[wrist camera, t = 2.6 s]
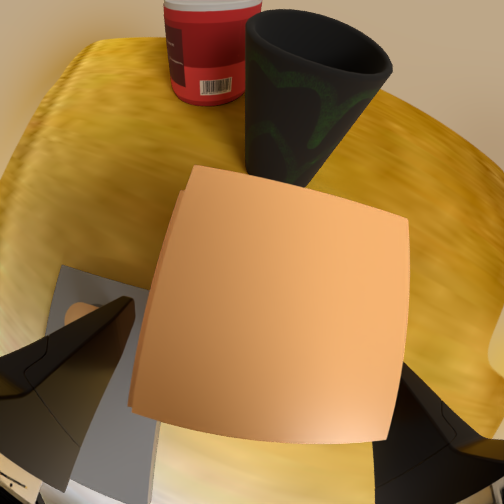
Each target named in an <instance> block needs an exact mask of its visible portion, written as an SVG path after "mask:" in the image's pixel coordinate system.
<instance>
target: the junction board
mask: <svg viewBox="0 0 504 504" xmlns="http://www.w3.org/2000/svg"><path fill="white" fill-rule="evenodd" d="M149 292H150V290H146V289H142V288H139V287H135V286H131V285H128V284H124V283H121V282H117V281H114V280H110V279H107V278H103V277H100V276H97V275H93V274H90V273H87V272H84V271H81V270H77V269H74V268H71V267H68V266H65V265H62V266H61V269H60V273H59V276H58V280H57V283H56V287H55V291H54V295H53V299H52V303H51V308H50V313H49V317H48V322H47V328H46V333H45V336H47V335H48V336H49V334H51V333H52V332H54V331H56V330H58V329H60V328H62V327H64V326H65V325H67V324H69V323H71V322H73V321H75V320H77V319H79V318H80V317H82V316H84V315H86V314H88V313H90V312H92V311H94V310H96V309H98V308H100V307H101V306H103V305H105V304H107V303H109V302H111V301H113V300H115V299H117V298H119V297H121V296H128V297H132V298H133V299H134V301H135V314H136V317H135V322H134V324H133V327H132V330H131V332H130V335H129V338H128V341H127V343H126V346H125V349H124V352H123V354H122V357H121V359H120V361H119V363H118V365H117V367H116V369H115V371H114V373H113V375H112V377H111V380H110V382H109V384H108V386H107V388H106V390H105V392H104V395H103V397H102V399H101V401H100V403H99V406H98V408H97V410H96V412H95V415H94V417H93V419H92V422H91V424H90V426H89V429H88V431H87V434H86V436H85V439H84V441H83V444H82V446H81V448H80V452H79V454H78V457H77V459H76V462H75V465H74V468H73V470H72V473H71V476H70V479H72V480H73V481H75V482H77V483H79V484H81V485H83V486H85V487H88V488H90V489H92V490H94V491H96V492H98V493H101V494H103V495H105V496H108V497H110V498H113V499H115V500H118V501H121V502H123V503H126V504H150V502H151V498H152V487H153V477H154V468H155V460H156V452H157V444H158V437H159V430H160V423H161V422H160V421H157V420H153V419H150V418H147V417H144V416H141V415H138V414H135V413H132V408H131V407H128V406H127V404H128V397H129V390H130V384H131V378H132V372H133V366H134V360H135V355H136V350H137V345H138V340H139V335H140V330H141V326H142V321H143V317H144V312H145V308H146V304H147V300H148V296H149Z"/></svg>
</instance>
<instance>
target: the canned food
mask: <svg viewBox="0 0 504 504" xmlns="http://www.w3.org/2000/svg"><path fill="white" fill-rule="evenodd" d="M261 6H262V0H164V20H165V32H166V42H167V51H168V60H169V68H170V76H171V84H172V88H173V90H174V92H175V94H176V95H177V97H178V98H179V99H181V100H182V101H184V102H186V103H188V104H192V105H197V106H215V105H221V104H225V103H228V102H231V101H233V100H235V99H237V98H239V97H240V96H241V95H242V94H243V93H244V92H245V24H246V22H247V20H248V19H249V18H250V17H252V16H254V15H255V14H257V13H260V12H261Z"/></svg>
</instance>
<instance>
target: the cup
mask: <svg viewBox="0 0 504 504" xmlns="http://www.w3.org/2000/svg"><path fill="white" fill-rule="evenodd" d="M392 72H393V68H392V63H391V61H390V59H389V57H388V55H387V54H386V52H385V51H384V50H383V49H382V48H381V47H380V46H379V45H378V44H377V43H376V42H375V41H373V40H372V39H371V38H369V37H368V36H366V35H365V34H363V33H362V32H360V31H358V30H357V29H355V28H353V27H351V26H349V25H347V24H345V23H343V22H340V21H338V20H335V19H333V18H329V17H327V16H323V15H320V14H316V13H311V12H307V11H300V10H292V9H276V10H267V11H263V12H260V13H257V14H255V15H254V16H252V17H250V18H249V19H248V20H247V22H246V24H245V163H246V169H247V172H248V174H249V175H251V176H256V177H261V178H265V179H270V180H274V181H278V182H282V183H287V184H291V185H295V186H299V187H303V188H304V187H306V186H307V185H308V183H309V182H310V181H311V179H312V178H313V177H314V175H315V174H316V173H317V172H318V170H319V169H320V168H321V166H322V165H323V164H324V162H325V161H326V160H327V158H328V157H329V156H330V154H331V153H332V152H333V150H334V149H335V148H336V146H337V145H338V144H339V143H340V141H341V140H342V139H343V137H344V136H345V135H346V133H347V132H348V131H349V129H350V128H351V127H352V125H353V124H354V123H355V121H356V120H357V119H358V117H359V116H360V115H361V113H362V112H363V111H364V109H365V108H366V107H367V105H368V104H369V103H370V101H371V100H372V99H373V98H374V96H375V95H376V94H377V92H378V91H379V90H380V88H381V87H382V86H383V84H384V83H385V81H386V80H387V79H388V78H389V76H390V75H391V74H392Z"/></svg>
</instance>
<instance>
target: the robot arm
mask: <svg viewBox="0 0 504 504" xmlns="http://www.w3.org/2000/svg"><path fill="white" fill-rule="evenodd" d="M135 317H136V314H135V301H134V299H133V298H132V297H128V296H121V297H119V298H117V299H115V300H113V301H111V302H109V303H107V304H105V305H103V306H101V307H100V308H98V309H96V310H94V311H92V312H90V313H88V314H86V315H84V316H82V317H80V318H79V319H77V320H75V321H73V322H71V323H69V324H67V325H65V326H64V327H62V328H60V329H58V330H56V331H54V332H52V333H51V334H49V336H48V335H47V336H45V337H43V338H41V339H39V340H37V341H35V342H33V343H32V344H30V345H27V346H25V347H23V348H21V349H19V350H16V351H14V352H12V353H9V354H7V355H4V356H2V357H0V504H45V503H44V501H43V499H42V497H41V494H40V492H39V490H40V488H41V485H42V482H45V483H47V484H48V485H50V486H52V487H54V488H56V489H58V490H60V491H62V492H63V493H65V490H66V488H67V485H68V482H69V479H70V476H71V473H72V470H73V468H74V465H75V462H76V459H77V457H78V454H79V452H80V448H81V446H82V444H83V441H84V439H85V436H86V434H87V431H88V429H89V426H90V424H91V422H92V419H93V417H94V415H95V412H96V410H97V408H98V406H99V403H100V401H101V399H102V397H103V395H104V392H105V390H106V388H107V386H108V384H109V382H110V380H111V377H112V375H113V373H114V371H115V369H116V367H117V365H118V363H119V361H120V359H121V357H122V354H123V352H124V349H125V346H126V343H127V341H128V338H129V335H130V332H131V330H132V327H133V324H134V322H135ZM372 446H373V459H374V477H375V504H504V440H498V439H488V438H485V437H483V436H481V435H479V434H478V433H477V432H476V431H475V430H474V429H472V428H471V427H470V426H469V425H468V424H467V423H466V422H464V421H463V420H462V419H461V418H460V417H459V416H458V415H457V414H456V413H454V412H453V411H452V410H451V409H450V408H449V407H448V406H447V405H446V404H445V403H444V402H443V401H441V399H440V398H439V397H438V396H437V395H436V394H435V392H434V391H433V390H432V389H431V388H430V387H429V386H428V385H427V384H426V383H425V382H424V381H423V380H422V379H421V378H420V377H418V376H417V375H416V374H415V373H414V372H413V371H412V370H411V369H410V368H409V367H408V366H407V365H406V364H405V363H404V362H403V364H402V371H401V377H400V383H399V388H398V393H397V398H396V403H395V407H394V411H393V416H392V420H391V424H390V428H389V431H388V435H387V438H386V440H380V441H372Z"/></svg>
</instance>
